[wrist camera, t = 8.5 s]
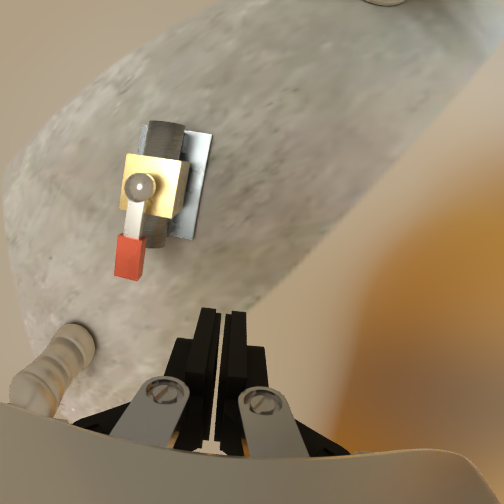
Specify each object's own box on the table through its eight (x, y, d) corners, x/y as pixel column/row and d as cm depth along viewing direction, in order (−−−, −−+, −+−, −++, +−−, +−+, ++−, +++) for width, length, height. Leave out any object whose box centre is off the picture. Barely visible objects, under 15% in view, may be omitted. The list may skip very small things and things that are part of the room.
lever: (132, 170, 25) (126, 171, 23) (158, 175, 25) (153, 175, 23) (119, 269, 27) (113, 275, 25) (143, 275, 27) (138, 281, 26)
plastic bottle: (63, 349, 40) (-3, 432, 21) (62, 312, 39) (-18, 392, 19) (99, 362, 41) (42, 457, 22) (100, 325, 39) (30, 420, 20)
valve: (146, 126, 33) (114, 113, 23) (212, 135, 33) (201, 123, 24) (130, 225, 36) (95, 245, 26) (193, 237, 36) (177, 262, 27)
